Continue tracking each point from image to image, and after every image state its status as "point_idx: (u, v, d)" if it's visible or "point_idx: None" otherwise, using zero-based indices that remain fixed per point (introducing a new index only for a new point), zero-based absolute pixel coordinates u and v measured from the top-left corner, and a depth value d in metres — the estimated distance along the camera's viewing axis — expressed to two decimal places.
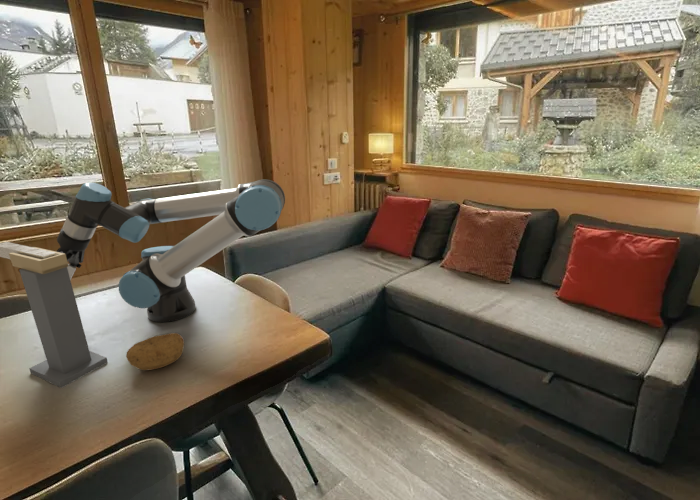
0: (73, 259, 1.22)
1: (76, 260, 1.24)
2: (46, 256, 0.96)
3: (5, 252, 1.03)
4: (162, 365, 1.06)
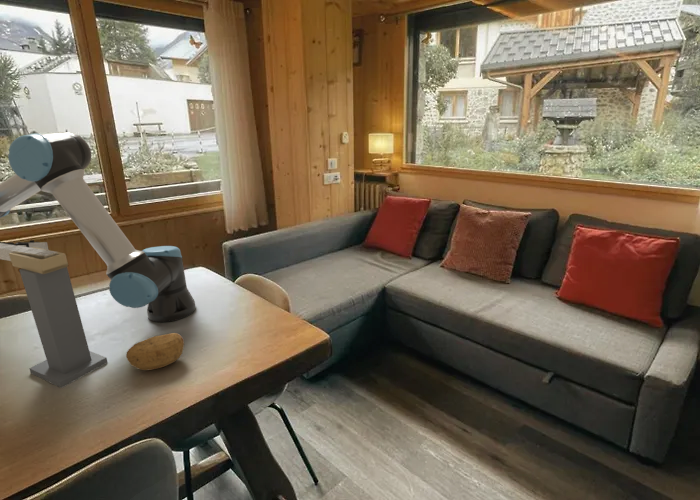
0: None
1: (18, 243, 1.17)
2: (48, 255, 0.97)
3: (1, 253, 1.03)
4: (162, 365, 1.06)
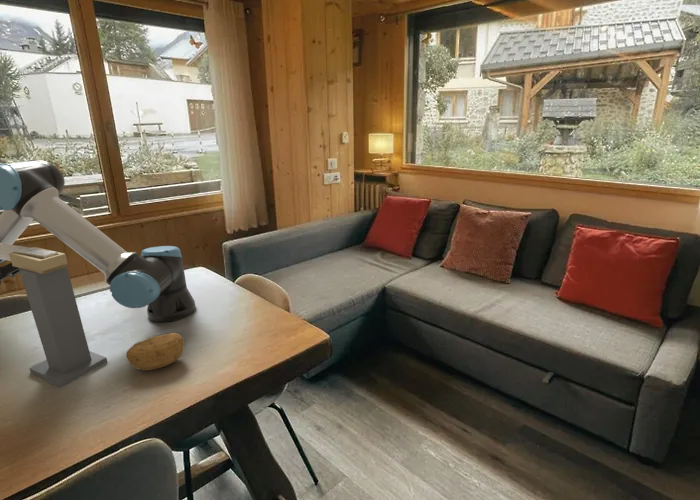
0: (5, 267, 1.18)
1: None
2: (48, 255, 0.97)
3: (1, 253, 1.03)
4: (162, 365, 1.06)
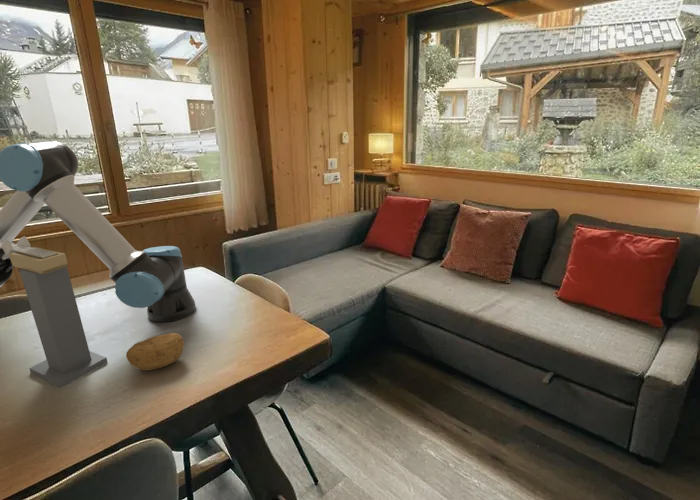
0: None
1: None
2: (45, 256, 0.96)
3: None
4: (162, 365, 1.06)
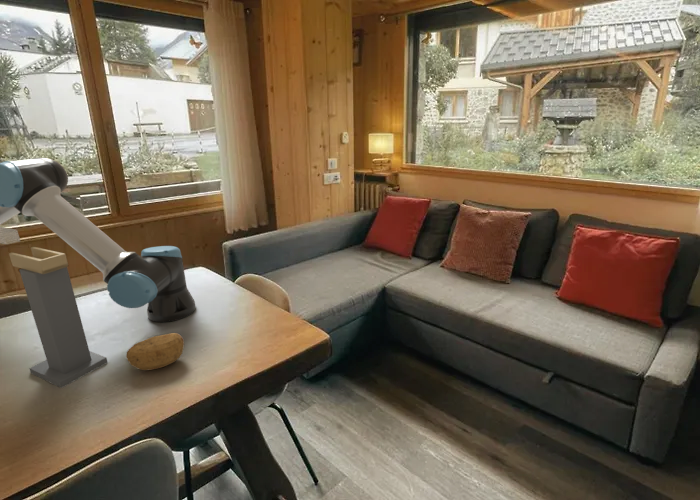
0: None
1: None
2: (7, 233, 1.01)
3: None
4: (162, 365, 1.06)
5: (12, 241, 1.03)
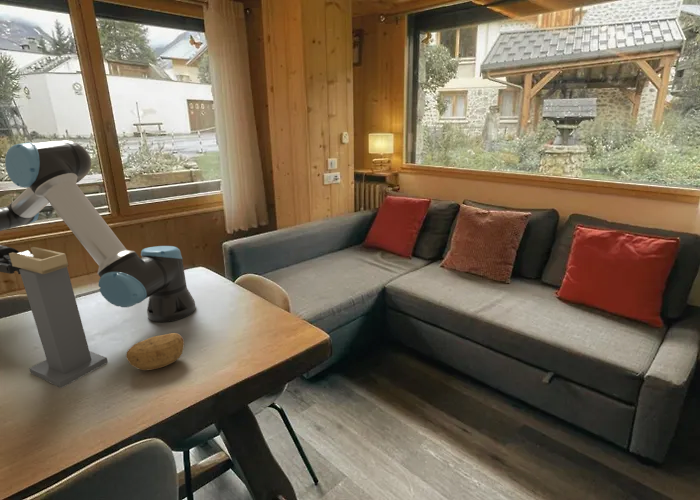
0: None
1: None
2: None
3: None
4: (162, 365, 1.06)
5: None
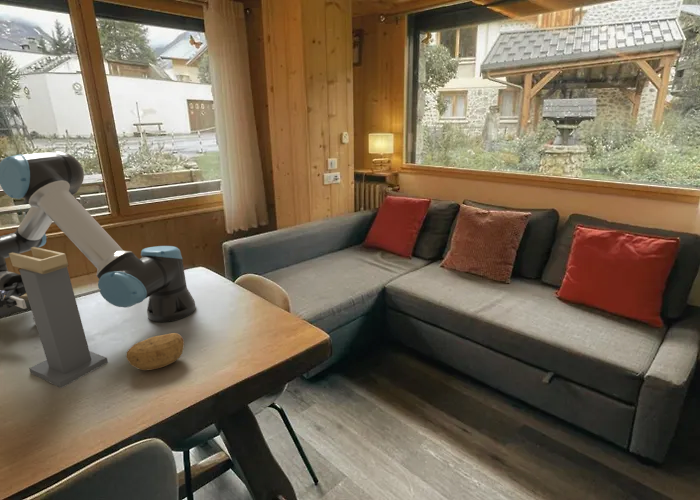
0: None
1: None
2: None
3: None
4: (162, 365, 1.06)
5: None
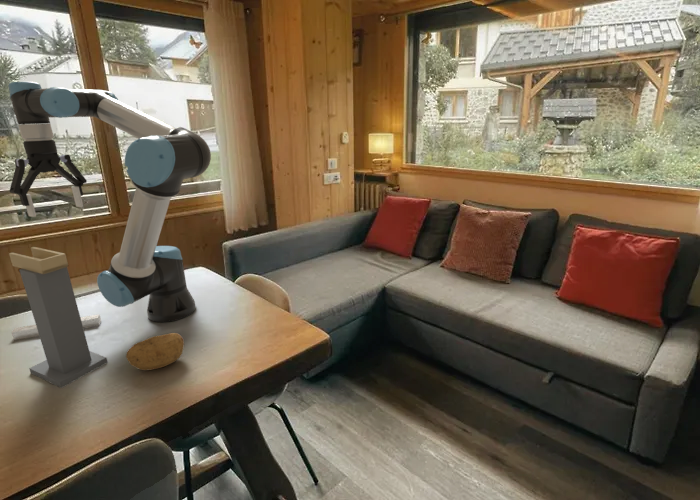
0: (63, 174, 1.24)
1: (68, 175, 1.25)
2: (98, 317, 1.32)
3: (34, 332, 1.26)
4: (162, 365, 1.06)
5: None
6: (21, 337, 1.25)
